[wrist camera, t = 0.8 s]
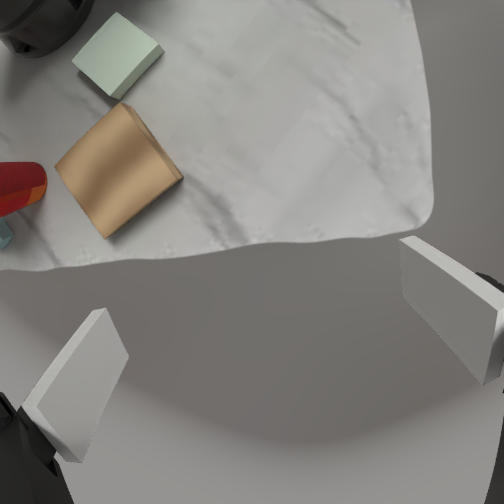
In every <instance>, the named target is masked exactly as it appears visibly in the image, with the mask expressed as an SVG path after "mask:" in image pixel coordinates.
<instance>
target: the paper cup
mask: <svg viewBox="0 0 504 504" xmlns="http://www.w3.org/2000/svg"><path fill="white" fill-rule="evenodd" d="M46 188H47V176H46V172H45V170H44V169H43V167H42V166H41V165H40V164H38V163H35V162H0V218H1V217H3V216H5V215H8V214H10V213H12V212H14V211H16V210H19V209H21V208H23V207H25V206H28V205H30V204H32V203H34V202H36V201H38V200H40V199H41V198H42V197H43V195H44V194H45V191H46Z"/></svg>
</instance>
